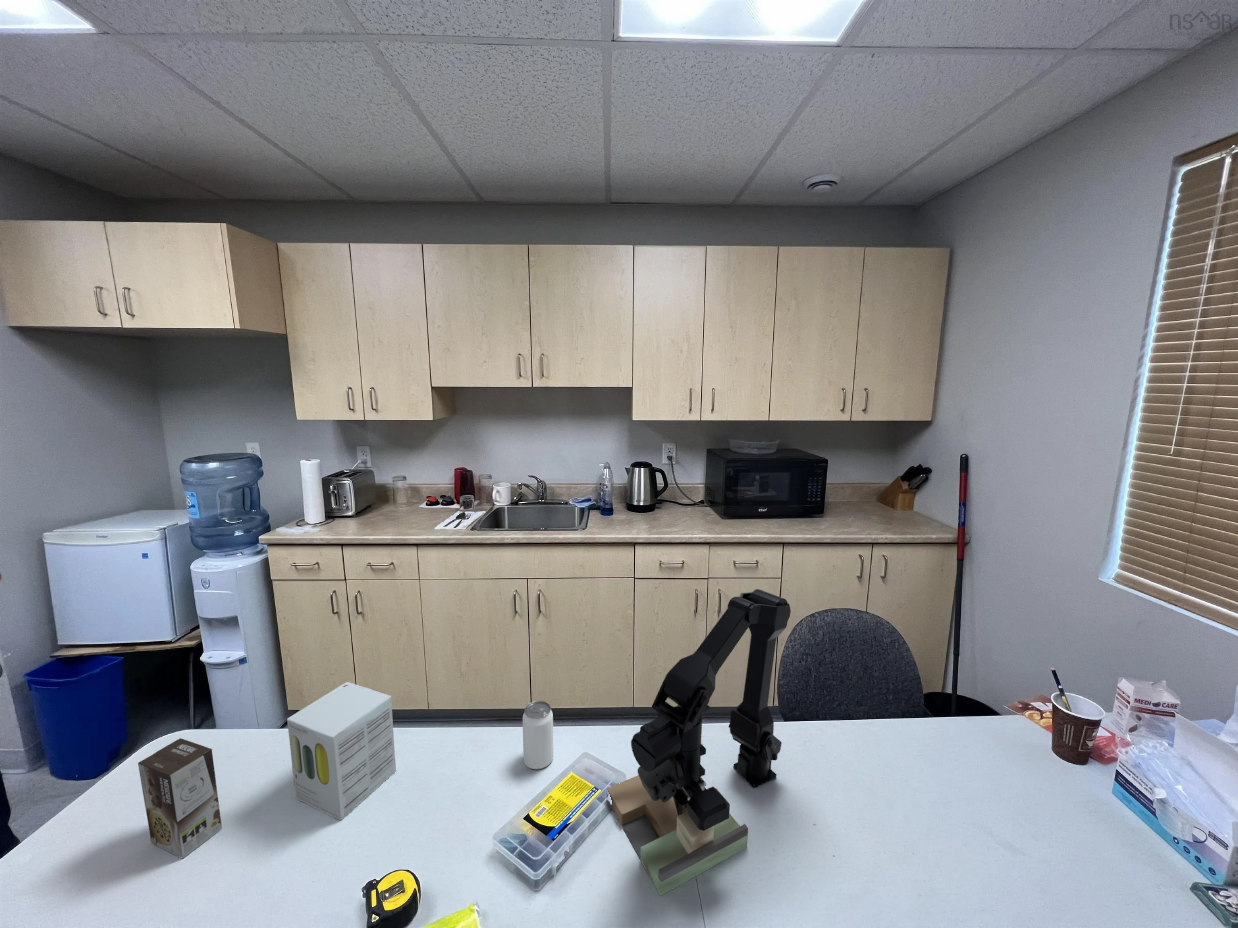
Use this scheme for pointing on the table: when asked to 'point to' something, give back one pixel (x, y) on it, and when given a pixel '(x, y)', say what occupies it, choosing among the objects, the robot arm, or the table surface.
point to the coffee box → (180, 796)
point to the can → (538, 735)
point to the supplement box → (342, 748)
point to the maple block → (692, 833)
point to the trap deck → (669, 836)
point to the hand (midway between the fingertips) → (682, 817)
